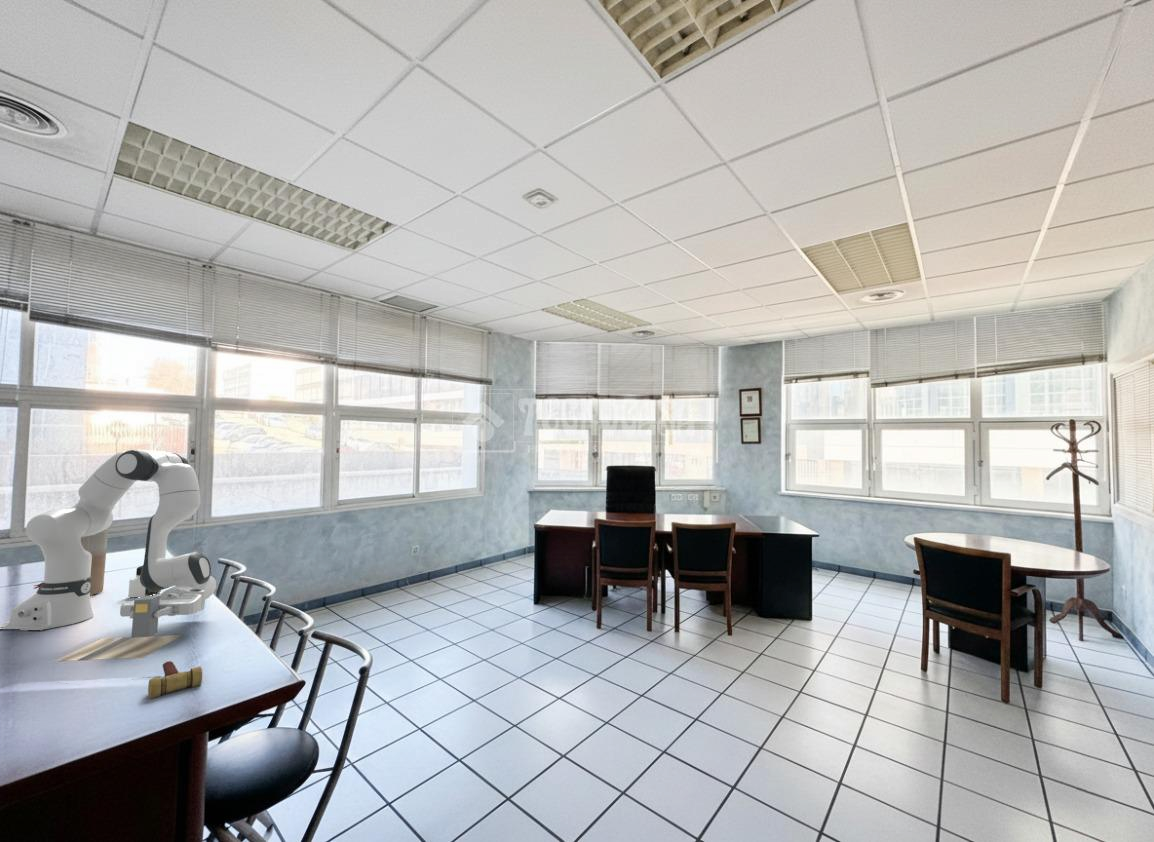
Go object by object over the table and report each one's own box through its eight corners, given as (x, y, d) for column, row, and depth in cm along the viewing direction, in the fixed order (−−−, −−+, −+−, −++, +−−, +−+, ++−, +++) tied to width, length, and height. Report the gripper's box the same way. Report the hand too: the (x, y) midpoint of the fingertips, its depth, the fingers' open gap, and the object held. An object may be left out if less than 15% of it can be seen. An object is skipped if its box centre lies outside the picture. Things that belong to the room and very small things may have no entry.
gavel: (142, 660, 127) (189, 649, 134) (141, 677, 127) (188, 666, 134) (150, 682, 113) (202, 668, 120) (149, 702, 113) (201, 687, 120)
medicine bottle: (145, 598, 186) (147, 568, 187) (127, 598, 187) (129, 567, 187) (161, 592, 194) (163, 563, 194) (144, 592, 194) (146, 563, 194)
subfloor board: (53, 666, 128) (53, 661, 129) (102, 643, 144) (102, 638, 144) (143, 662, 132) (143, 657, 132) (181, 639, 148) (182, 635, 148)
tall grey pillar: (130, 638, 137) (133, 599, 138) (140, 632, 141) (143, 595, 141) (147, 637, 138) (150, 599, 138) (157, 632, 141) (159, 595, 142)
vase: (83, 590, 195) (89, 523, 196) (109, 590, 196) (115, 523, 197) (60, 598, 185) (66, 527, 187) (87, 597, 186) (93, 527, 188)
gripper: (140, 591, 151) (104, 605, 137) (210, 589, 154) (182, 603, 141) (139, 611, 151) (103, 627, 137) (209, 609, 154) (180, 625, 140)
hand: (143, 615), depth 139 cm, fingers closed on tall grey pillar, 4 cm apart
